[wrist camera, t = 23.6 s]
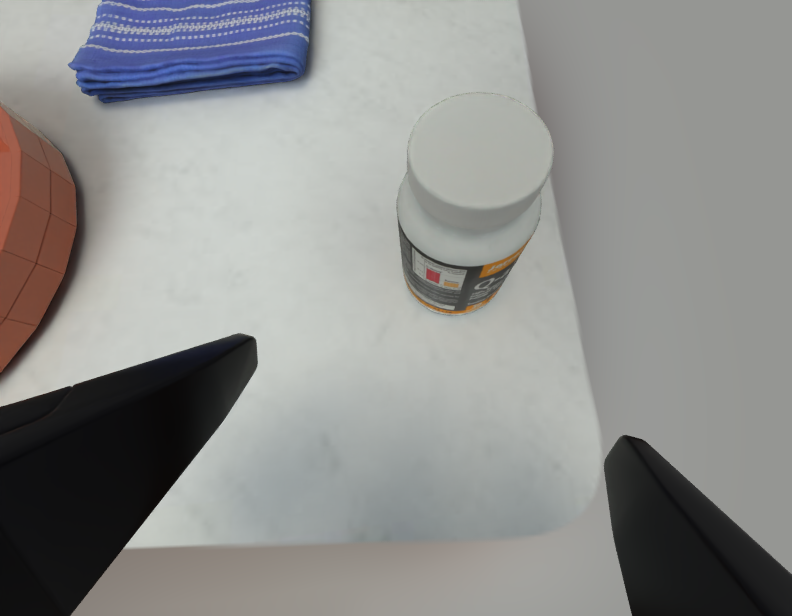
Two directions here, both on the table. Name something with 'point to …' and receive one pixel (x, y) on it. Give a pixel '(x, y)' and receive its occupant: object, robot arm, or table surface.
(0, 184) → the bowl
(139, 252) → the table surface
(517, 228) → the pill bottle
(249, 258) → the table surface
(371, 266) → the table surface
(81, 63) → the dish towel
